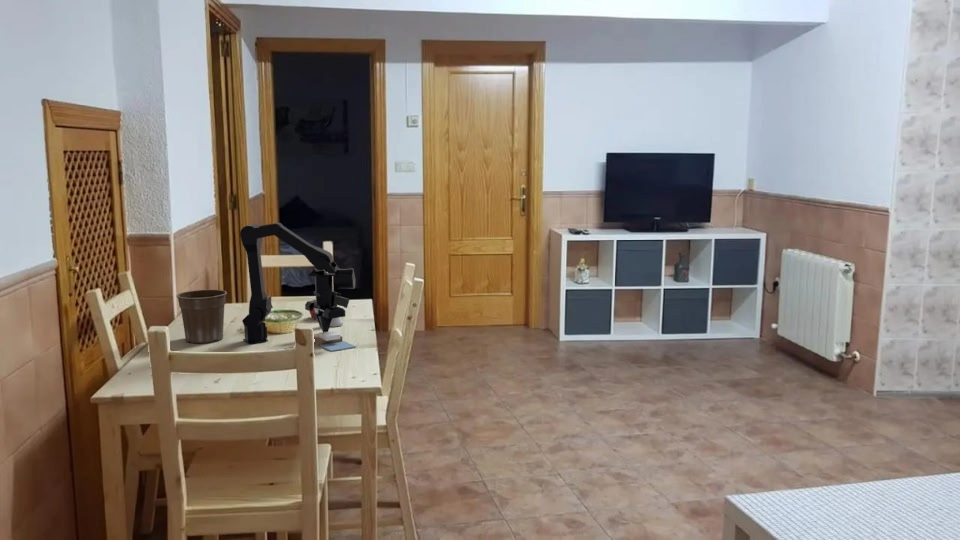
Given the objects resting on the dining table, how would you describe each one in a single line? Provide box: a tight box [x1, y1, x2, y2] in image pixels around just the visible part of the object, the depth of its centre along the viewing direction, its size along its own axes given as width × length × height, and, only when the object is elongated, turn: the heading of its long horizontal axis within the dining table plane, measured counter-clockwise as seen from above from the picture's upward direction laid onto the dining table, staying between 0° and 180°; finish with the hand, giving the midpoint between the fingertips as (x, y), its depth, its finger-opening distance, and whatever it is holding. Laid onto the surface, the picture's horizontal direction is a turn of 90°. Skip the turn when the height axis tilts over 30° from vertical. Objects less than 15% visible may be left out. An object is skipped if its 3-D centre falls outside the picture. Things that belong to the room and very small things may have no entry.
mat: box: [319, 341, 357, 353], centre depth 252 cm, size 9×8×1 cm
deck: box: [313, 332, 343, 346], centre depth 258 cm, size 8×9×2 cm
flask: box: [329, 317, 344, 328], centre depth 282 cm, size 7×7×10 cm
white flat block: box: [318, 330, 341, 341], centre depth 255 cm, size 5×6×2 cm
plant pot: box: [176, 289, 228, 344], centre depth 260 cm, size 16×16×16 cm
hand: (325, 333), depth 258 cm, fingers closed
